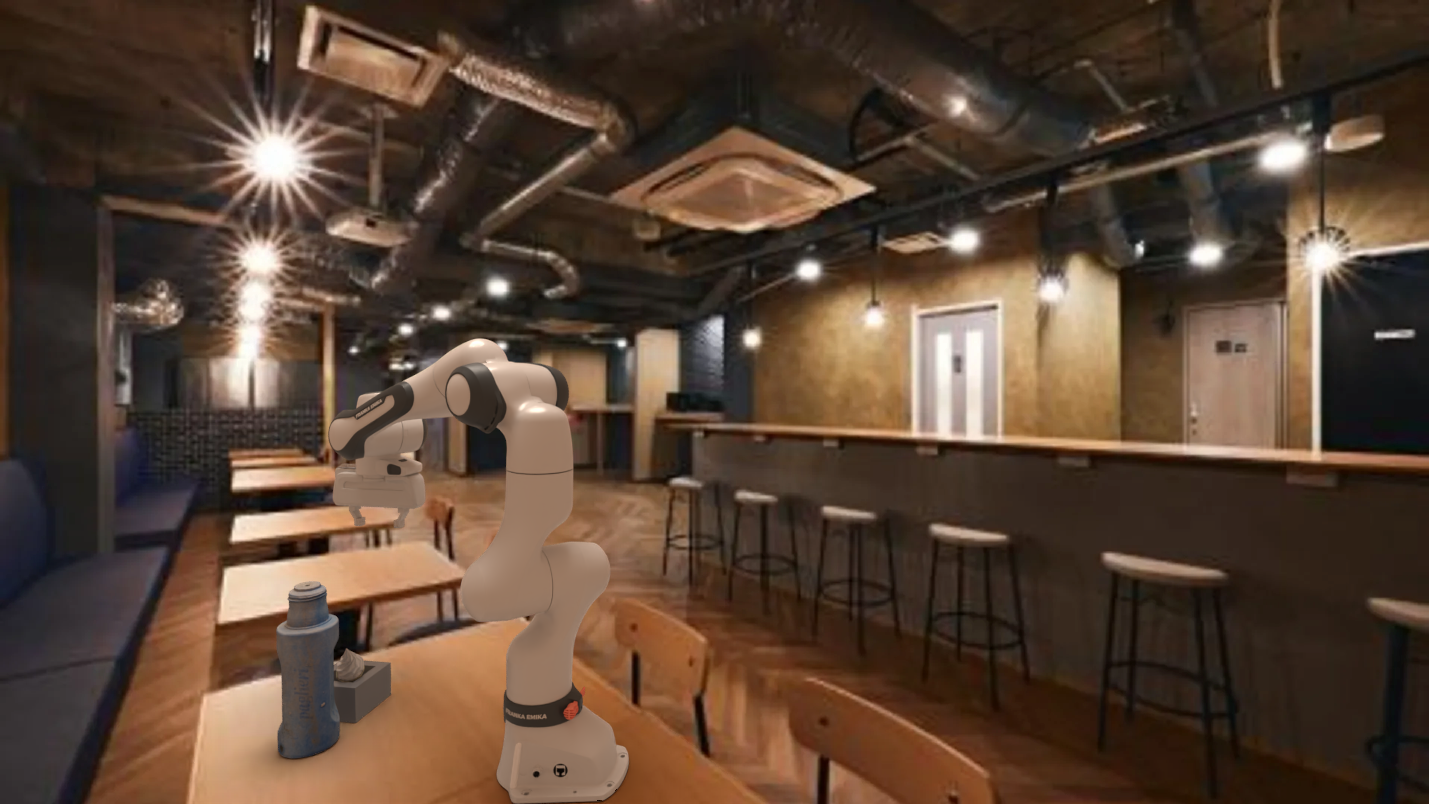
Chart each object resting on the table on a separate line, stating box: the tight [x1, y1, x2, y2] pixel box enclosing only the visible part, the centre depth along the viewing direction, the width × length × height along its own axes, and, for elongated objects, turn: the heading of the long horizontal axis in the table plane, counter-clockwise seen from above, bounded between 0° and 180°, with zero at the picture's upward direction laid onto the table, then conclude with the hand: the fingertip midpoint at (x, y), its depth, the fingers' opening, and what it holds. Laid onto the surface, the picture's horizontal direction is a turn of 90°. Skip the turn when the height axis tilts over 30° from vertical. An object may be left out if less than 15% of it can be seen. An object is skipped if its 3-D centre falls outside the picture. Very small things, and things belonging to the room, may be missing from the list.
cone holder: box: [334, 659, 392, 724], centre depth 131 cm, size 11×11×7 cm
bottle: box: [275, 580, 341, 759], centre depth 117 cm, size 10×10×30 cm
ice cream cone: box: [336, 647, 364, 682], centre depth 129 cm, size 5×5×15 cm
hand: (379, 526), depth 142 cm, fingers open, 8 cm apart
